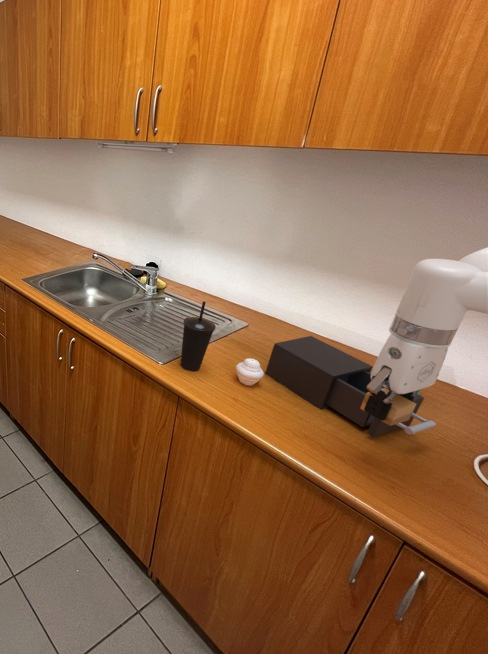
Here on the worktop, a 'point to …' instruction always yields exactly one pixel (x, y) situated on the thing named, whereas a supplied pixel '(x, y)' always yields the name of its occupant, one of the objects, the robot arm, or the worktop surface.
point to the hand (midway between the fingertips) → (385, 411)
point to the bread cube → (395, 408)
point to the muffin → (249, 371)
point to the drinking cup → (195, 340)
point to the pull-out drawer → (348, 402)
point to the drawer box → (311, 367)
